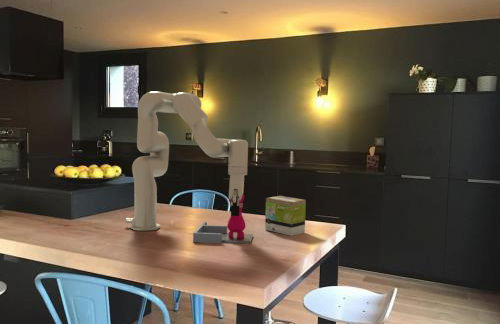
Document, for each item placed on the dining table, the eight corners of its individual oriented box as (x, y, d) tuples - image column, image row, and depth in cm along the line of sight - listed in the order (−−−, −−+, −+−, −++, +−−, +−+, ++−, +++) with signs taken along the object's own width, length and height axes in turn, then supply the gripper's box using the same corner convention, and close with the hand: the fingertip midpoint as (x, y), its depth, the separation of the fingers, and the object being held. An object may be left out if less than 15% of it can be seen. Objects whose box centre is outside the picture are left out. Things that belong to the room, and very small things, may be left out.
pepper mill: (243, 239, 175) (243, 188, 174) (225, 238, 176) (225, 187, 175) (246, 235, 182) (247, 186, 181) (229, 234, 183) (230, 185, 182)
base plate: (219, 242, 174) (219, 232, 173) (224, 235, 186) (224, 225, 185) (250, 243, 173) (250, 233, 172) (252, 236, 185) (253, 227, 184)
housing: (193, 242, 173) (193, 233, 173) (204, 229, 196) (204, 221, 195) (221, 243, 172) (221, 234, 172) (229, 230, 195) (229, 222, 195)
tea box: (264, 230, 197) (264, 197, 196) (278, 227, 204) (279, 195, 203) (291, 236, 187) (292, 201, 186) (305, 232, 194) (306, 199, 193)
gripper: (231, 168, 186) (230, 209, 188) (225, 172, 169) (223, 217, 170) (249, 169, 186) (247, 210, 187) (244, 173, 169) (243, 218, 170)
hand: (236, 213), depth 179 cm, fingers open, 9 cm apart
